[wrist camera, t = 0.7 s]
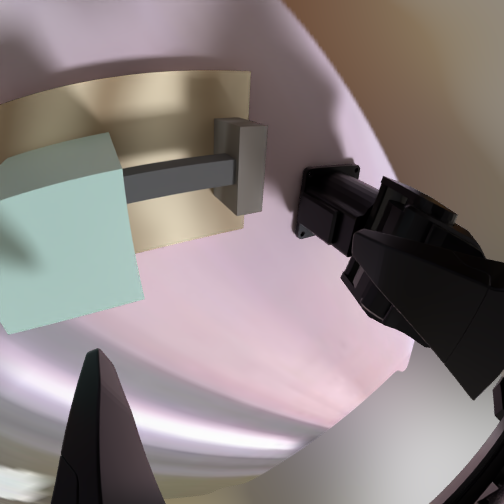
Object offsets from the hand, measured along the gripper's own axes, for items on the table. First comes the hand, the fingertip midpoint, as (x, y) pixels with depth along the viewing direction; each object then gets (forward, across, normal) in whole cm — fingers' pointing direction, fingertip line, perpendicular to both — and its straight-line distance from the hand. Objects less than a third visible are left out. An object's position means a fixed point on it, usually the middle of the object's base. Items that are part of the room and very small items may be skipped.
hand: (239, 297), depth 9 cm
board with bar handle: (+12, +9, -3) cm, 15 cm away
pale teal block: (+10, +6, -2) cm, 12 cm away
